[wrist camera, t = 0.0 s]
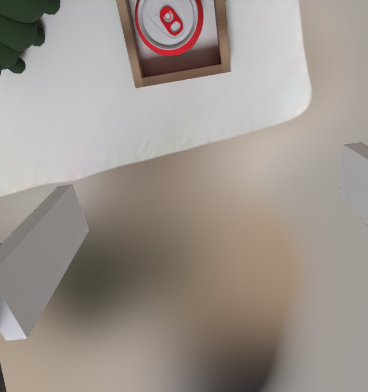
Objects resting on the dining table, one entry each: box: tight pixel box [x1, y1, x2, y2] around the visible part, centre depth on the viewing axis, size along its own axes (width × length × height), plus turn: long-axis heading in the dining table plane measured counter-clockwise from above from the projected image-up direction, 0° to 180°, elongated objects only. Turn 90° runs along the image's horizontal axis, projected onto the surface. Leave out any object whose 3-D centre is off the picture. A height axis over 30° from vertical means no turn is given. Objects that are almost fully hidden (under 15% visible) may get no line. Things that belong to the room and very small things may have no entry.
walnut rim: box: [116, 0, 231, 88], centre depth 34 cm, size 12×12×2 cm
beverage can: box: [135, 0, 203, 56], centre depth 30 cm, size 6×6×12 cm
